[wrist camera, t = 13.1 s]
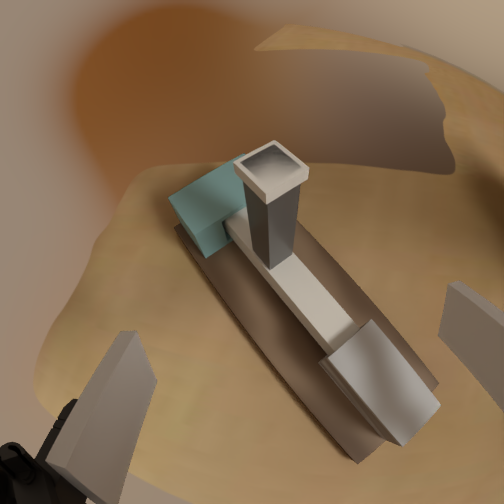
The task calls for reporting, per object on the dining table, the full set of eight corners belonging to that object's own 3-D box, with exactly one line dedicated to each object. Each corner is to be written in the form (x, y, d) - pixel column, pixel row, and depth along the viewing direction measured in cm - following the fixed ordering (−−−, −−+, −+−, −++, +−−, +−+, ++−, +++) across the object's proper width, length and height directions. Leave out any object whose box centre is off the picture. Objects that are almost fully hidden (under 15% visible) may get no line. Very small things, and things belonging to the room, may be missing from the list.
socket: (247, 181, 35) (244, 153, 31) (277, 211, 33) (277, 183, 28) (180, 222, 33) (167, 197, 29) (205, 258, 31) (194, 235, 26)
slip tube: (240, 207, 32) (222, 101, 19) (373, 360, 24) (462, 328, 11) (217, 222, 32) (185, 118, 19) (349, 382, 23) (427, 374, 10)
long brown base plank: (254, 185, 37) (251, 149, 31) (432, 384, 24) (465, 380, 18) (177, 233, 34) (160, 203, 29) (353, 460, 21) (373, 478, 15)
